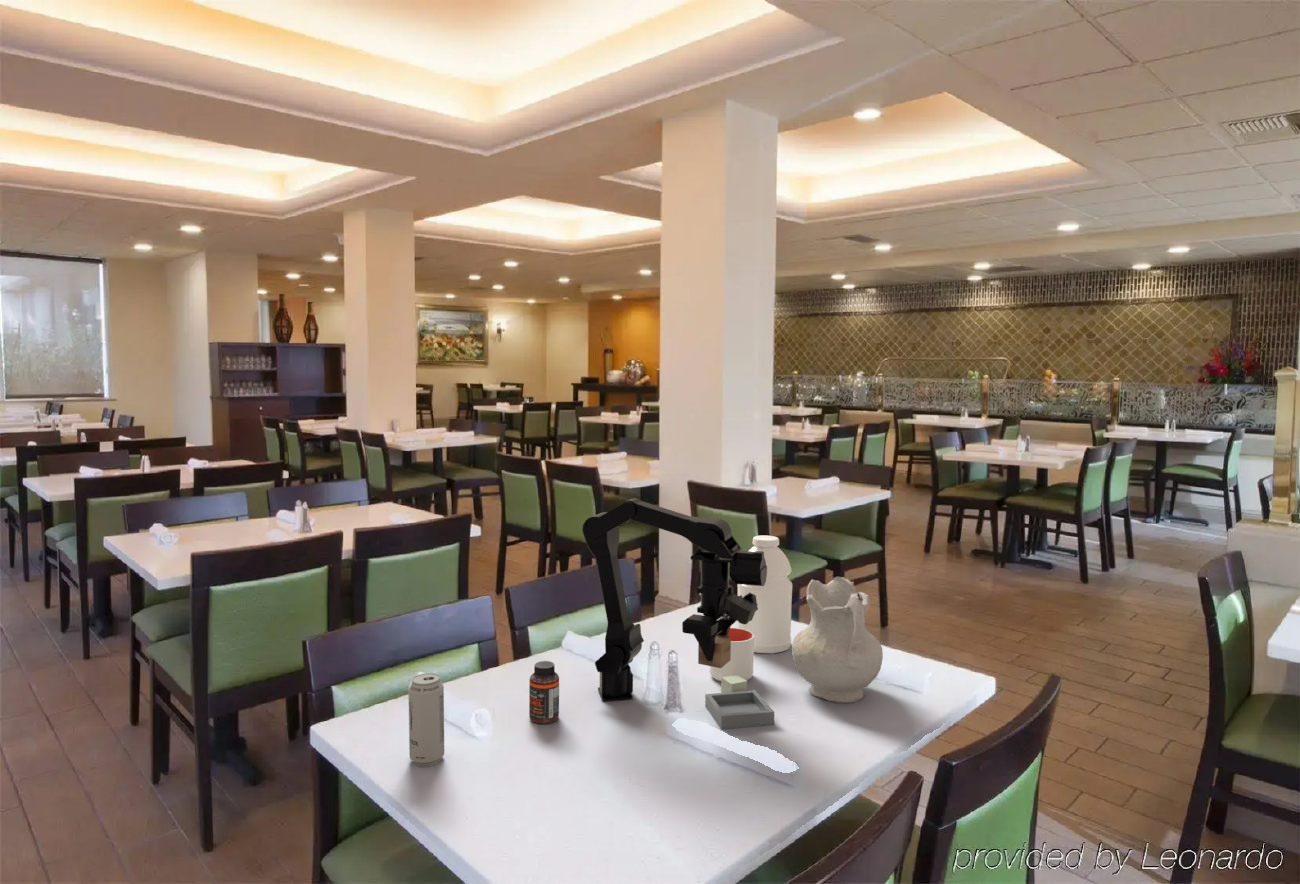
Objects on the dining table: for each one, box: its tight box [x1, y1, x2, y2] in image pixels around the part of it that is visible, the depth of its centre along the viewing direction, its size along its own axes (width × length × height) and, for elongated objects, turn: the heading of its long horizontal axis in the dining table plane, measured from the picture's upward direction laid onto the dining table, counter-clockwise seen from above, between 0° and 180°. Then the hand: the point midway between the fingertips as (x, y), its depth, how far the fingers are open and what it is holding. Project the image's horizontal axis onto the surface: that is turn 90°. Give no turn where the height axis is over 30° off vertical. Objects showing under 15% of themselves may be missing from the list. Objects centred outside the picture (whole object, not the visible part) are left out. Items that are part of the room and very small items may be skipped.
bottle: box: [736, 534, 793, 654], centre depth 204 cm, size 14×14×28 cm
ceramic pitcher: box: [791, 576, 884, 704], centre depth 173 cm, size 22×20×25 cm
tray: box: [704, 689, 775, 730], centre depth 163 cm, size 11×11×3 cm
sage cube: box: [720, 675, 748, 693], centre depth 172 cm, size 4×4×4 cm
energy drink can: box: [408, 672, 445, 767], centre depth 142 cm, size 6×6×15 cm
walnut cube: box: [697, 635, 731, 668], centre depth 164 cm, size 5×5×5 cm
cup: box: [708, 627, 755, 682], centre depth 183 cm, size 10×10×10 cm
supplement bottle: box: [528, 660, 560, 725], centre depth 160 cm, size 6×6×11 cm
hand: (715, 656), depth 164 cm, fingers closed on walnut cube, 5 cm apart
